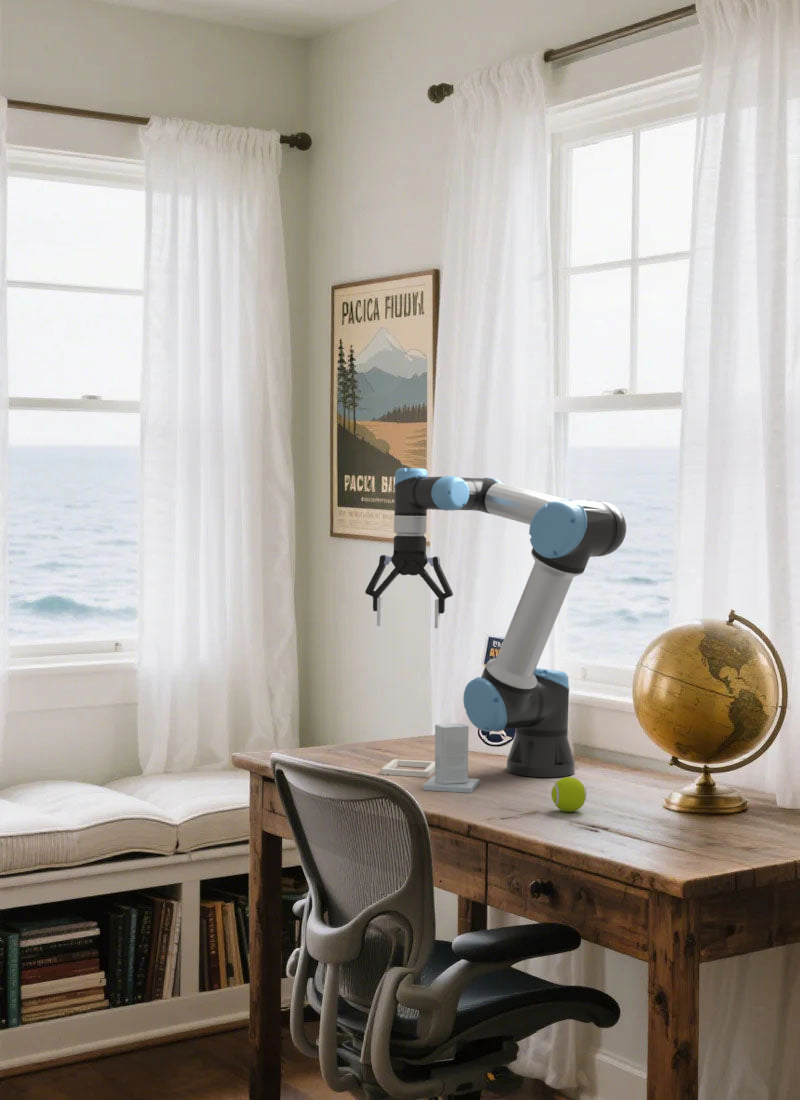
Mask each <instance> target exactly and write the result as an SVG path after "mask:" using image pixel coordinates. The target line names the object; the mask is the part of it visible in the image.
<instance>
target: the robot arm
mask: <svg viewBox="0 0 800 1100" xmlns="http://www.w3.org/2000/svg"><path fill="white" fill-rule="evenodd" d="M393 488H394V505H393V506H394V512H393V513H394V516H393V533H394V534H396V535H395V536H393V553H392V556H387V555H386V554H382V555H379V560H378V566H377V568H376V569H375V571H374V574H373V575H372V577H371V579H370V581H369V583H368V585H367V588H366V589H365V594H366V595H369V596H370V597H372V611H373V612H376V627H382V626H383V623H384V616H383V615H384V596H383V597H380V596H381V595H382V594H383V593H384V591H386V589H387V588H388V587H389V586H390V585H391V584H392V582H393V581H394V580H395V579H396V578H397V577H398V576H399V575H401V576H406V575H410V576H418V575H419V576H420V578H422V579H423V581H424V582H425V583H426V584H427V586H428V587H429V588H430V590H432V592H433V594H435V596H436V597H437V599H435V600H434V629H439V628H441V614H442V615H443V614H444V613H445V610H446V609H445V608H446V604H445V603H446V600H447V598H451V597H453V595H454V593H453V590H452V588H451V586H450V584H449V582H448V579H447V578H446V576H445V575H446V574H445V573H444V570H443V569H442V567H441V561H440V560H441V559H440V557H439V556H436V555H435V556H433V557H428V556H427V537H426V536H425V534H426V533H427V521H428V519H427V517H428V515H427V512H428V510H431V511H433V510H437V511H445V512H447V511H476V512H480V513H481V512H482V513H484V514H485V513H486V514H490V515H494V516H498V517H502V518H505V519H507V520H511V521H515V522H519V523H522V524H526V525H529V532H528V534H529V535H530V539H529V541H530V544H531V548H532V549H531V552H530V553H531V554H530V555H531V556H532V558H533V559H534V564H533V565H532V569H531V571H530V573H529V576H528V579H527V581H526V583H525V586H524V589H523V591H522V593H521V596H520V599H519V601H518V604H517V606H516V609H515V611H514V614H513V616H512V619H511V622H510V624H509V626H508V629H507V631H506V634H505V636H504V637H503V638H504V639H503V640H502V643H501V646H500V648H499V651H498V654H497V656H496V657H494V658H492V659H490V660H488V661H487V662H486V664H485V667H484V669H483V671H482V674H481V677H475V678H473V679H472V680H470V681H468V683H467V684H466V685H465V688H464V691H463V697H462V699H463V700H462V701H463V707H464V710H465V714H466V716H467V718H468V719H469V721H470V722H471V724H472V725H473V726H474V727H475V728H476V729H478V730H479V731H483V732H493V733H498V732H499V733H500V732H502V731H505V730H514V729H515V730H514V731H515V733H514V734H515V735H514V738H513V741H512V745H511V747H510V751H509V753H508V755H507V756H508V757H507V758H506V759H507V760H506V771H507V772H508V773H511V774H513V775H518V776H526V777H534V778H558V777H559V778H560V777H561V778H563V777H569V776H571V775H573V774H575V772H576V763H575V758H574V756H573V755H574V754H573V751H572V749H571V745H570V742H569V741H570V740H569V738H568V734H569V733H568V731H569V726H568V725H569V704H570V703H569V700H570V697H569V696H570V687H569V686H570V685H569V684H570V683H569V676H568V674H567V672H565V671H561V670H555V669H547V668H538V667H537V666H538V664H539V661H540V659H541V657H542V655H543V653H544V649H545V647H546V644H547V642H548V640H549V637H550V634H551V633H552V630H553V628H554V625H555V622H556V621H557V618H558V616H559V613H560V611H561V608H562V606H563V603H564V601H565V599H566V596H567V594H568V591H569V589H570V588H571V587H570V586H571V584H572V582H573V580H574V578H575V577H578V576H581V575H582V574H584V571H586V568H587V565H588V563H589V560H590V558H591V557H592V558H593V557H594V558H595V557H605V556H607V555H610V554H612V553H614V552H615V551H616V550H618V549H619V548H620V546H621V545H622V544H623V542H624V540H625V538H626V535H627V521H626V519H625V517H624V514H623V513H622V511H621V510H620V509H619V508H618V507H617V506H615V505H614V504H612V503H610V502H607V501H602V500H601V501H600V500H599V501H598V500H589V499H583V500H573V499H566V498H563V497H558V496H555V495H551V494H547V493H543V492H540V491H534V490H531V489H526V488H523V487H518V486H515V485H511V484H507V483H503V482H502V481H501V480H499V479H496V478H495V479H494V478H491V477H483V478H482V477H481V478H480V477H478V478H477V477H459V476H453V475H444V476H428V470H427V469H426V468H423V467H421V468H420V467H419V468H418V467H411V468H410V467H409V468H408V467H400V468H398V469H396V471H395V475H394V486H393ZM390 562H391V563H392V565H393V566H394V568H393V569H392V571H391V572H390V574H389V575H387V576H386V578H385V579H384V580H383V581H382V583H380V585H379V586H378V587H377V584H378V582H379V580H380V579H381V577H382V575H383V573H384V571H385V568H386V566H389V564H390ZM428 564H430V566H431V567H433V570H434V573H435V574H436V576H437V579H438V580H439V581H438V582H439V583H440V585H441V588H442V589H443V591H444V592H443V591H442V590H441V588H440V586H438V584H437V583H436V581H435V580H434V579H433V578H432V577H431V575H429V572H428V571H427V570H426V568H425V567H426V565H428ZM376 587H377V588H376ZM375 588H376V589H375Z"/></svg>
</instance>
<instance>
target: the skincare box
mask: <svg viewBox="0 0 800 1100" xmlns="http://www.w3.org/2000/svg"><path fill="white" fill-rule="evenodd" d="M434 726H435V727H434V732H435V733H434V762H435V771H434V776H435V781H436V782H438V783H440V784H454V783H467V782H468V778H469V726H468V725H466V724H464V723H460V722H459V723H442V724H441V723H440V724H435V725H434Z"/></svg>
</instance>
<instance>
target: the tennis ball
mask: <svg viewBox="0 0 800 1100" xmlns="http://www.w3.org/2000/svg"><path fill="white" fill-rule="evenodd" d="M551 800H552V802H553V803H554V805H555V807H557V809H559V810H560V811H563V812H565V813H572V812H576V811H578V810H580V809H581V808H582V807H583V806H584V805H585V802H586V800H587V790H586V788H585V786H584V784H583V783H582V782H581V780H579V779H577V778H575V777H571V776H564V777H561V778H560V779H558V780H557V781H556V782H555V783H554V785H552V789H551Z"/></svg>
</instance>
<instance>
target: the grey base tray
mask: <svg viewBox="0 0 800 1100" xmlns="http://www.w3.org/2000/svg"><path fill="white" fill-rule="evenodd" d="M396 766H397V767H398V766H399V767H409V768H411V767H412V768H413V767H415V768H425V769H407V768H405V769H404V768H396ZM433 773H435V761H431V760H430V761H429V760H415V759H412V760H411V759H397V758H394V759H392V760H391V761H389V762H388V763H387V764H385V765H384V766H383V767H382V768H380V775H382V774H384V776H385V775H386V776H398V777H399V776H402V777H417V778H429V777H431V775H432V774H433ZM387 774H389V775H387Z"/></svg>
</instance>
